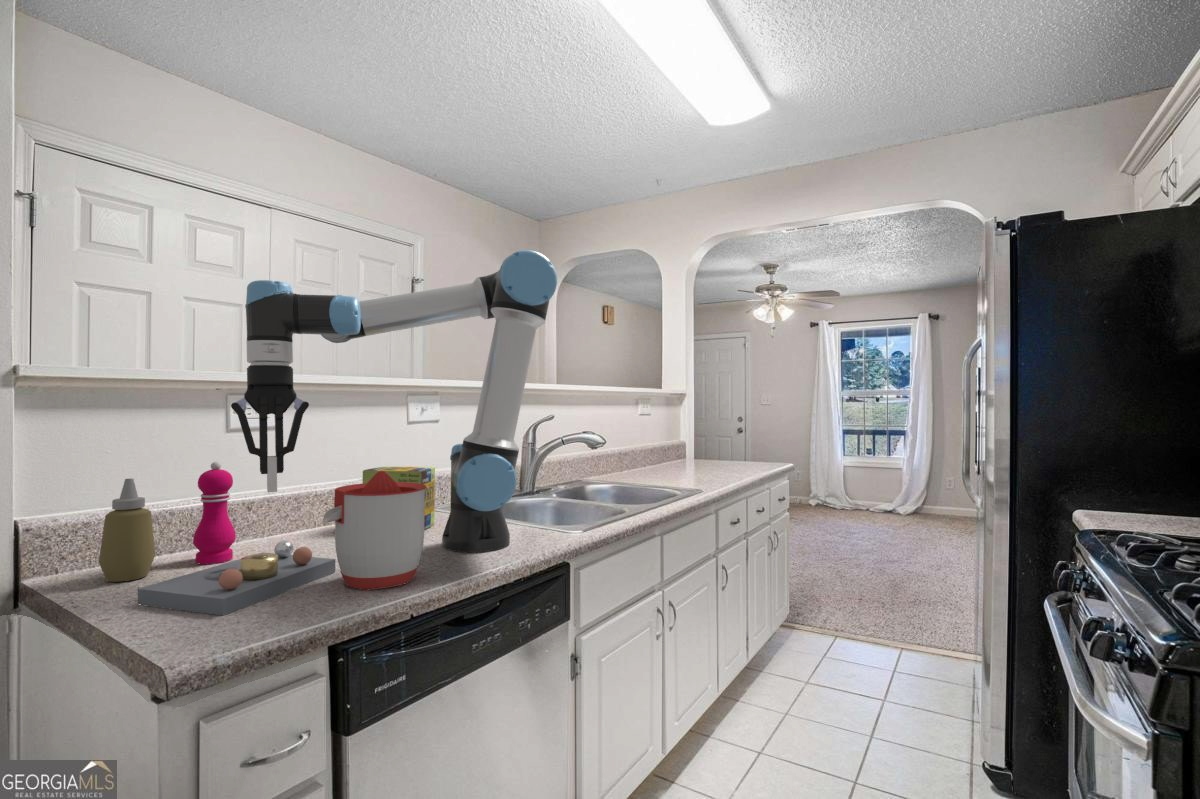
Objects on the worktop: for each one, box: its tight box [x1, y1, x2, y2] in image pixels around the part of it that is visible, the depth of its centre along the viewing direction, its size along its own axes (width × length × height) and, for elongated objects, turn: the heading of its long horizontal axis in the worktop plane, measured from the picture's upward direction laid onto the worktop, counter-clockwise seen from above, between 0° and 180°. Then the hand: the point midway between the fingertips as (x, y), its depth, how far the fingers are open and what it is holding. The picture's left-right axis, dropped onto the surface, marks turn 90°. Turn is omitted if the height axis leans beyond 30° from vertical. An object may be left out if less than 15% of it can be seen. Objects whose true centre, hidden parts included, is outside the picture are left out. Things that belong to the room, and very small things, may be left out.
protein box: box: [362, 466, 436, 531], centre depth 151 cm, size 10×15×16 cm
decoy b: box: [219, 569, 243, 590], centre depth 92 cm, size 3×3×3 cm
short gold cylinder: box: [240, 552, 278, 580], centre depth 100 cm, size 6×6×3 cm
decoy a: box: [292, 546, 313, 565], centre depth 107 cm, size 3×3×3 cm
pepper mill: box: [192, 461, 237, 565], centre depth 119 cm, size 7×7×20 cm
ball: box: [273, 540, 294, 558], centre depth 112 cm, size 3×3×3 cm
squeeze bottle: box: [98, 477, 156, 583], centre depth 106 cm, size 8×8×18 cm
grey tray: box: [137, 552, 336, 617], centre depth 102 cm, size 17×24×2 cm
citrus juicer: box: [322, 470, 426, 591], centre depth 105 cm, size 16×17×20 cm
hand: (272, 491), depth 109 cm, fingers closed
